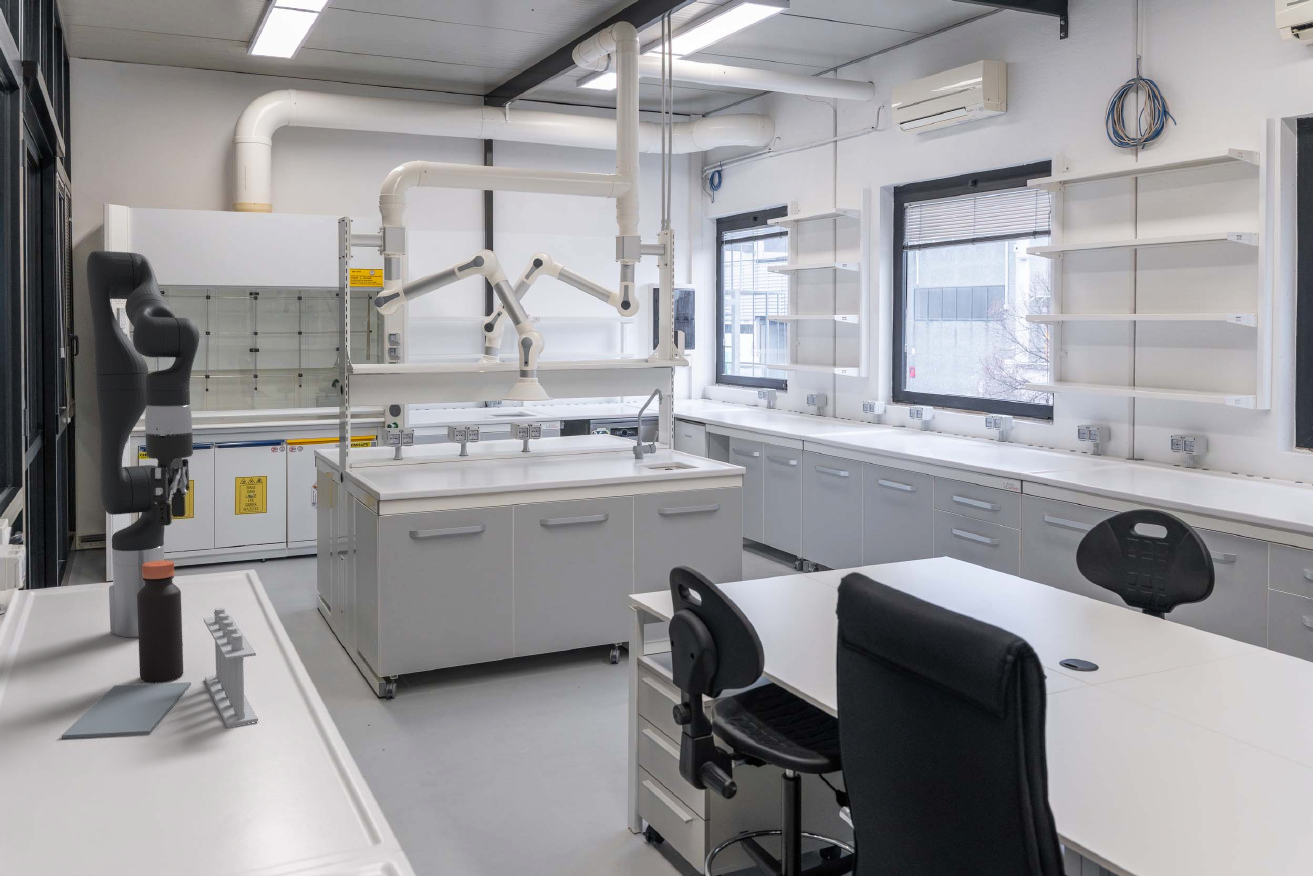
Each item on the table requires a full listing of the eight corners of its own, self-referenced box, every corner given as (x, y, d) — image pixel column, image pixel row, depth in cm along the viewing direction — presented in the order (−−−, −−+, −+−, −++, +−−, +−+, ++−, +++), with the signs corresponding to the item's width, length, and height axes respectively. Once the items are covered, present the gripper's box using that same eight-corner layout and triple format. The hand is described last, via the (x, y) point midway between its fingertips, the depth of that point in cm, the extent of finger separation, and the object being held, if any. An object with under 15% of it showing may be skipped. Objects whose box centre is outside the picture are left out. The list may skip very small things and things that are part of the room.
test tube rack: (258, 723, 155) (256, 639, 154) (227, 728, 153) (224, 643, 152) (232, 677, 177) (230, 602, 175) (204, 681, 174) (202, 605, 173)
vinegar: (149, 671, 179) (146, 559, 177) (189, 670, 179) (186, 559, 177) (132, 684, 172) (128, 567, 170) (174, 683, 172) (170, 567, 171)
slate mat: (114, 688, 170) (114, 685, 170) (190, 685, 172) (190, 682, 172) (61, 738, 148) (61, 735, 148) (149, 734, 150) (149, 730, 150)
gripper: (159, 427, 186) (161, 514, 188) (132, 434, 172) (135, 528, 174) (202, 427, 188) (204, 513, 189) (179, 434, 174) (182, 527, 175)
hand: (171, 520), depth 182 cm, fingers open, 8 cm apart
